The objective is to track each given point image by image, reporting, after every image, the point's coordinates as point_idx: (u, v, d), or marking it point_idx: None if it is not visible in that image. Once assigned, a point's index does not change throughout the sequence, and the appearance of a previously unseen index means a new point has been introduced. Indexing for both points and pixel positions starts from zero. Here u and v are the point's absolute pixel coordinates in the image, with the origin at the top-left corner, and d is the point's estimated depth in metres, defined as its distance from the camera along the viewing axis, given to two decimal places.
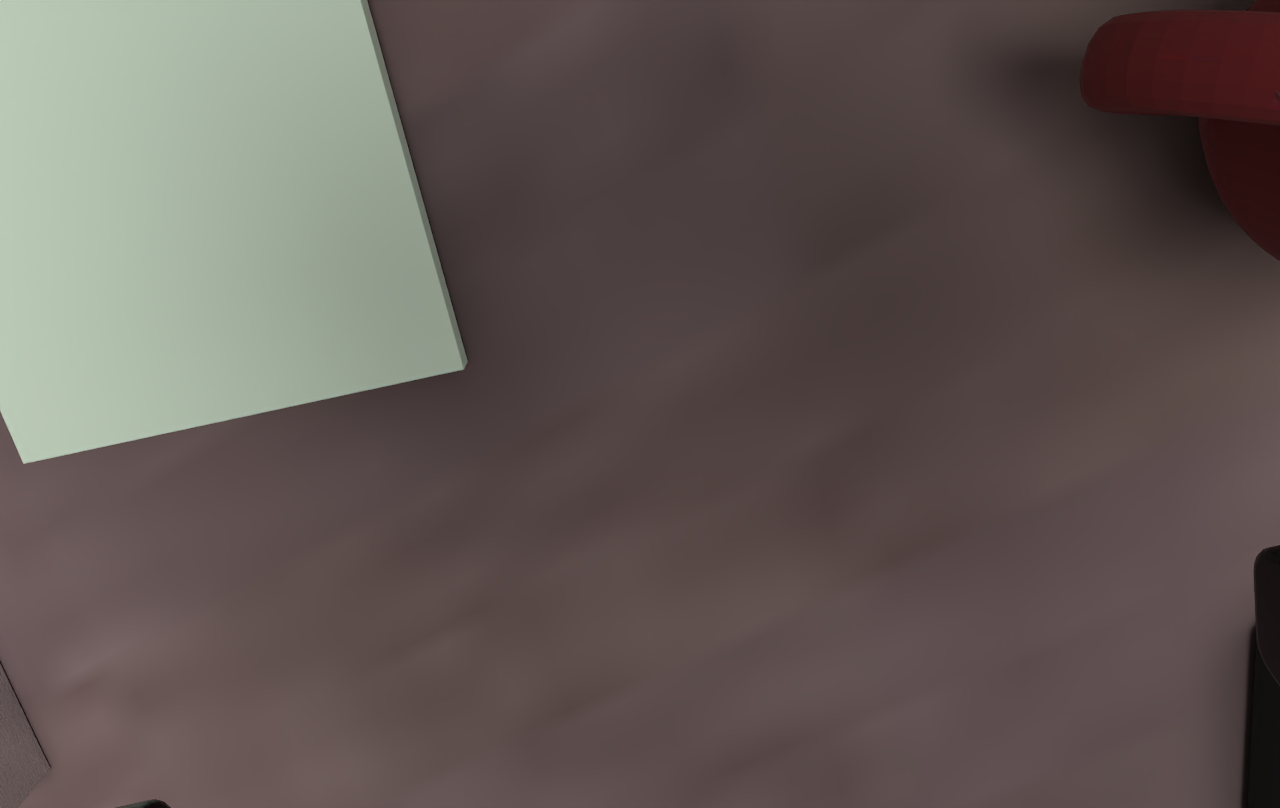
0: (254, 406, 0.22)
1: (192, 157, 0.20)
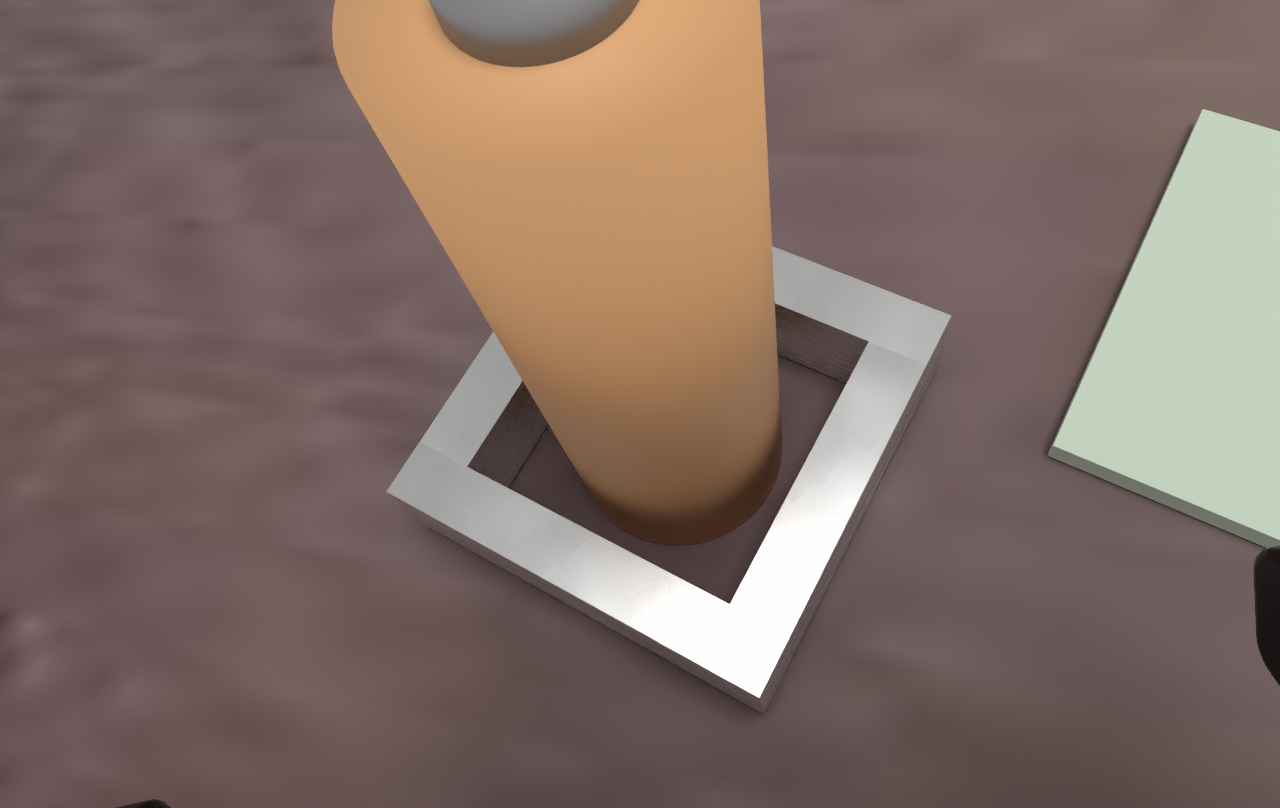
0: None
1: None
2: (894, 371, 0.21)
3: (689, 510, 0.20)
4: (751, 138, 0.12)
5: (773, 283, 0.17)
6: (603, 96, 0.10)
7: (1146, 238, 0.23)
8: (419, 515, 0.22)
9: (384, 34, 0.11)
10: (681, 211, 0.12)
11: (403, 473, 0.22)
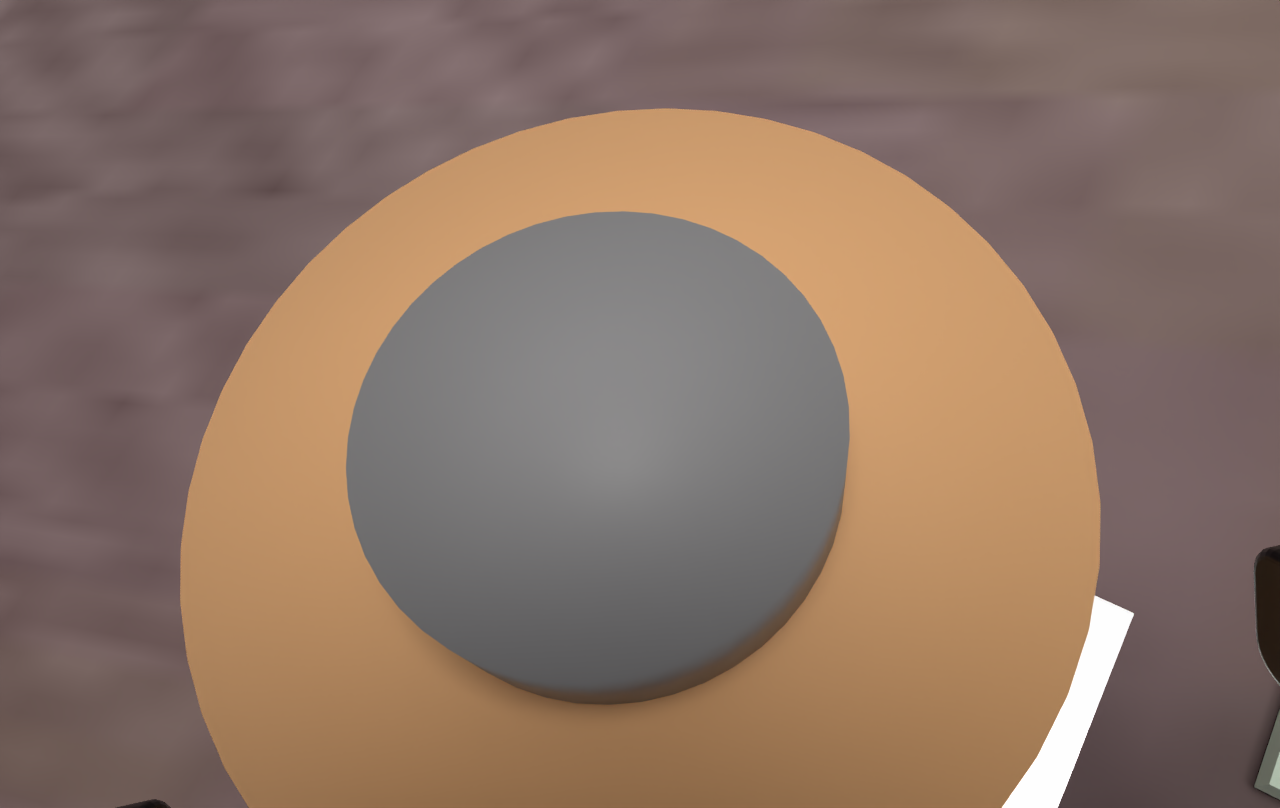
0: None
1: None
2: None
3: None
4: None
5: None
6: None
7: None
8: None
9: (285, 574, 0.05)
10: None
11: None
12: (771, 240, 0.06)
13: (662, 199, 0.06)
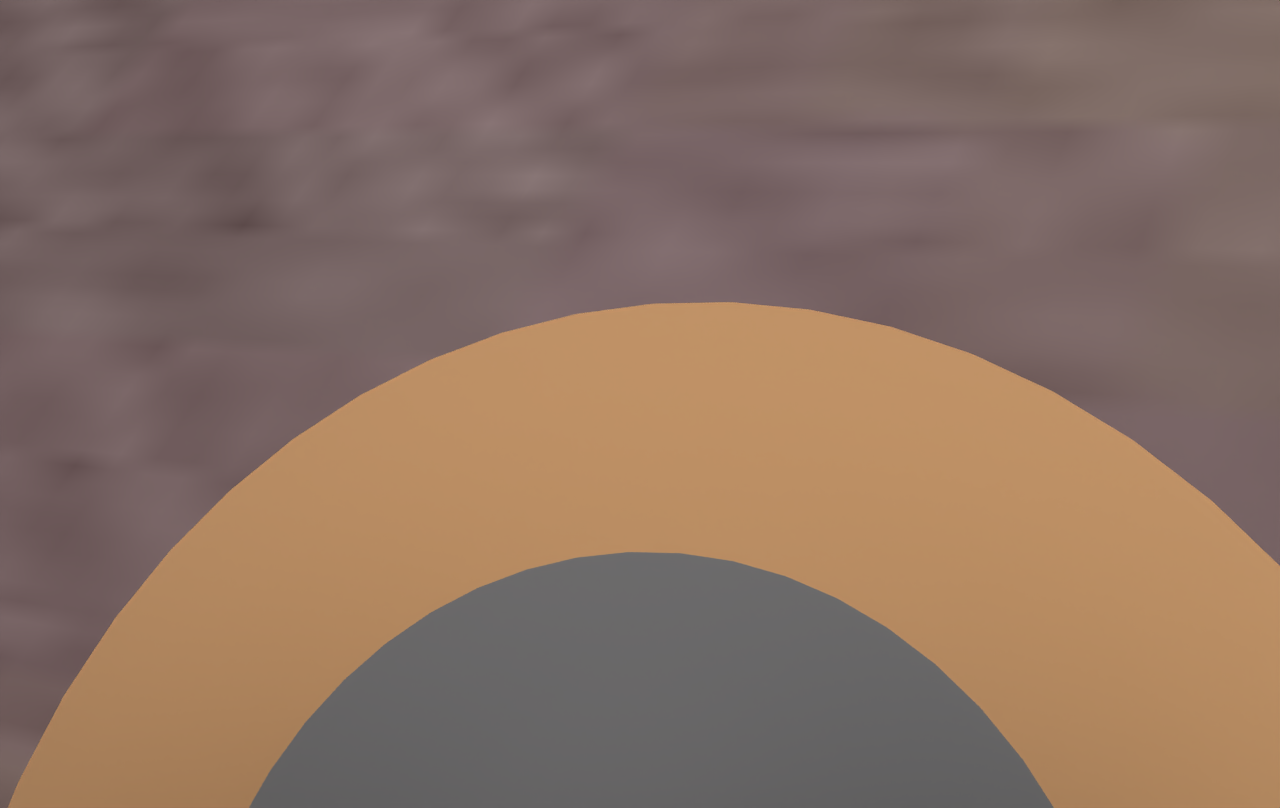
0: None
1: None
2: None
3: None
4: None
5: None
6: None
7: None
8: None
9: None
10: None
11: None
12: (914, 548, 0.03)
13: (730, 463, 0.04)
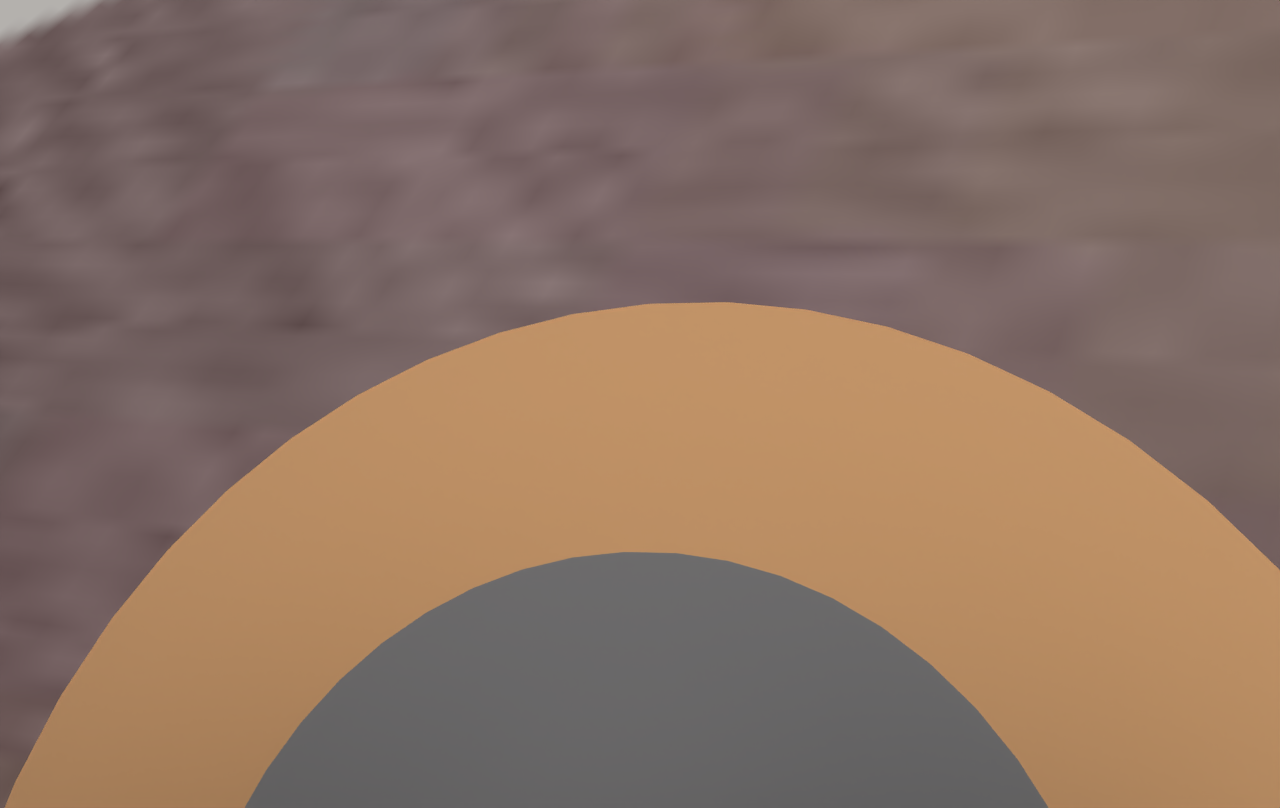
0: None
1: None
2: None
3: None
4: None
5: None
6: None
7: None
8: None
9: None
10: None
11: None
12: (908, 551, 0.03)
13: (725, 463, 0.04)
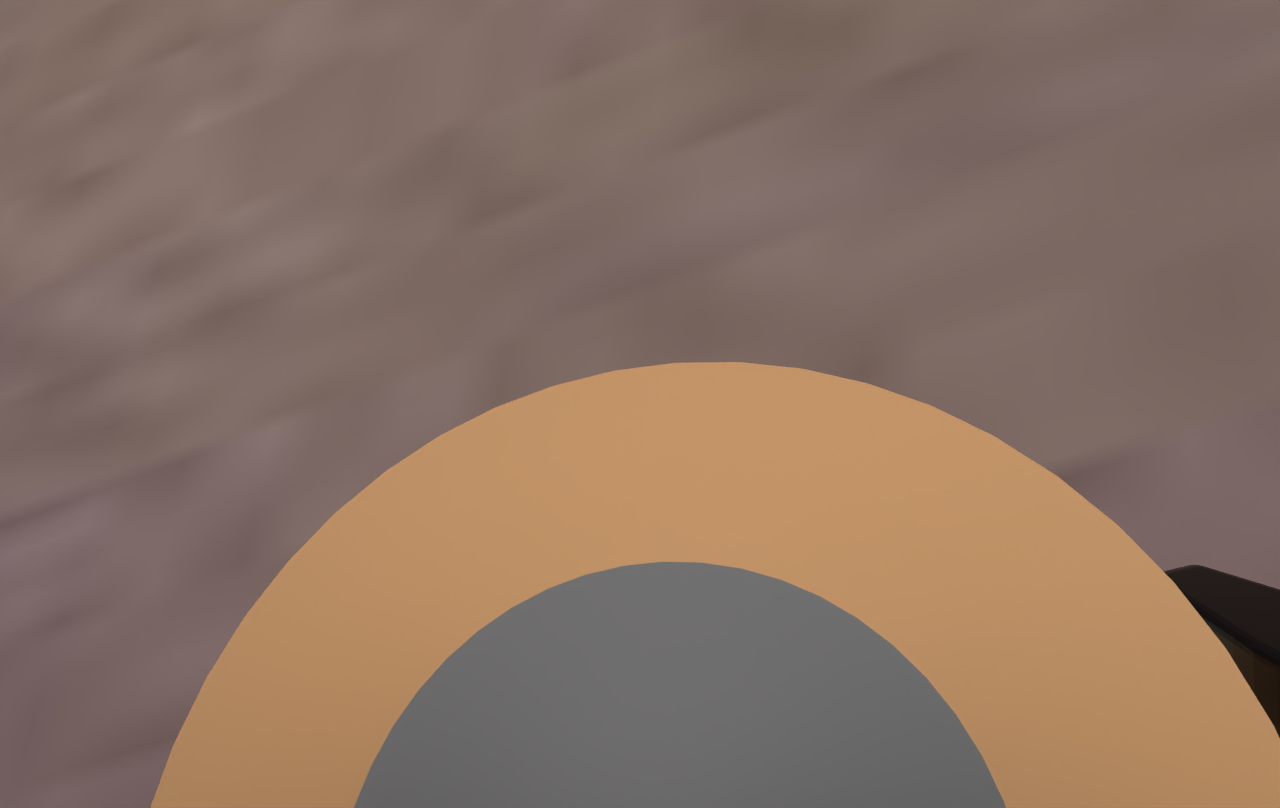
0: None
1: None
2: None
3: None
4: None
5: None
6: None
7: None
8: None
9: None
10: None
11: None
12: (880, 562, 0.04)
13: (738, 493, 0.05)
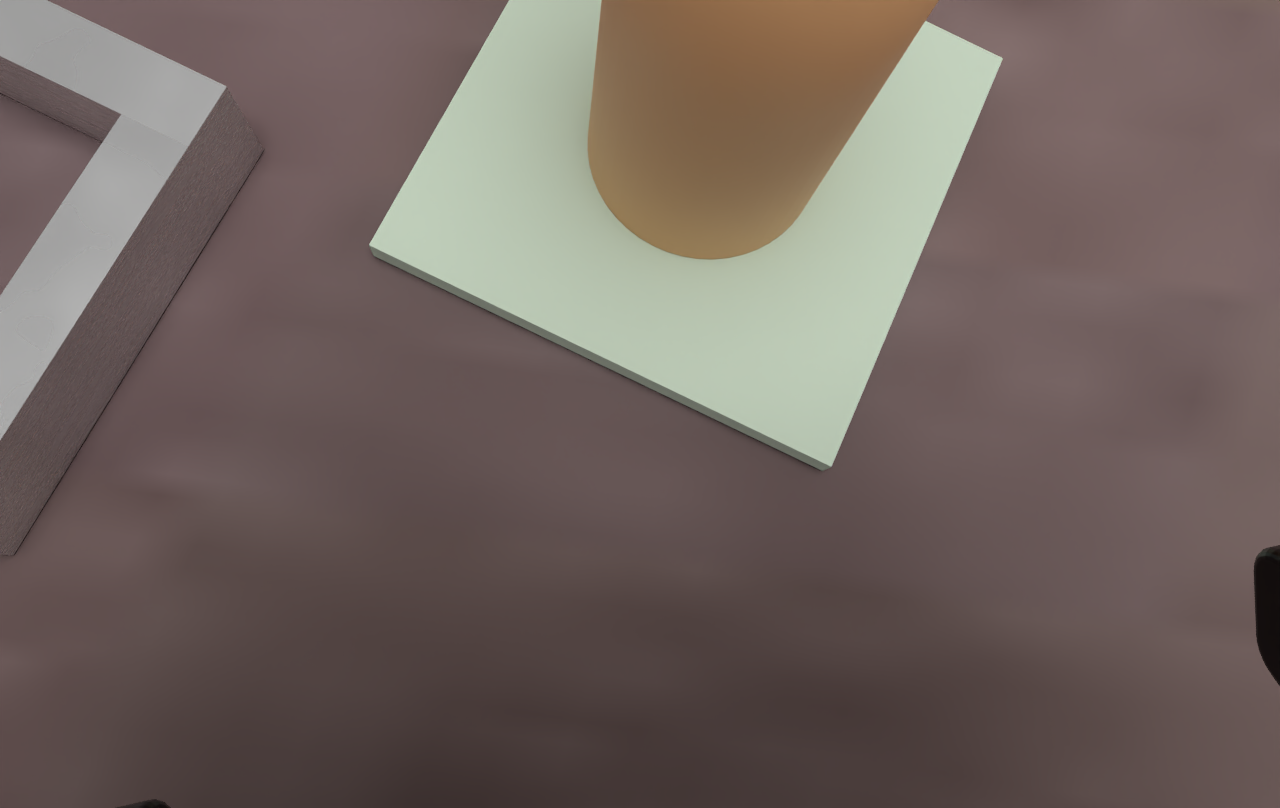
0: (621, 356, 0.19)
1: None
2: (148, 152, 0.17)
3: (705, 208, 0.18)
4: None
5: None
6: None
7: (505, 8, 0.21)
8: None
9: None
10: None
11: None
12: None
13: None
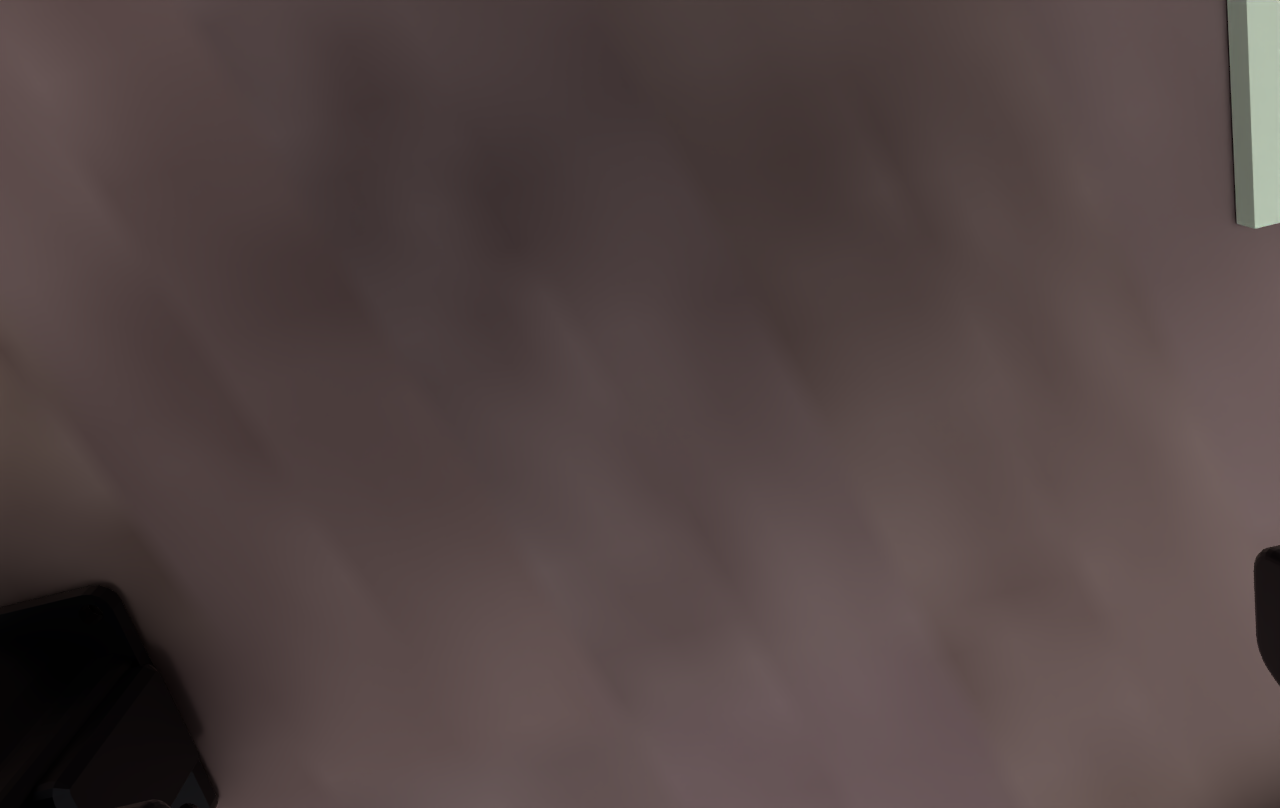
0: None
1: None
2: None
3: None
4: None
5: None
6: None
7: None
8: None
9: None
10: None
11: None
12: None
13: None
